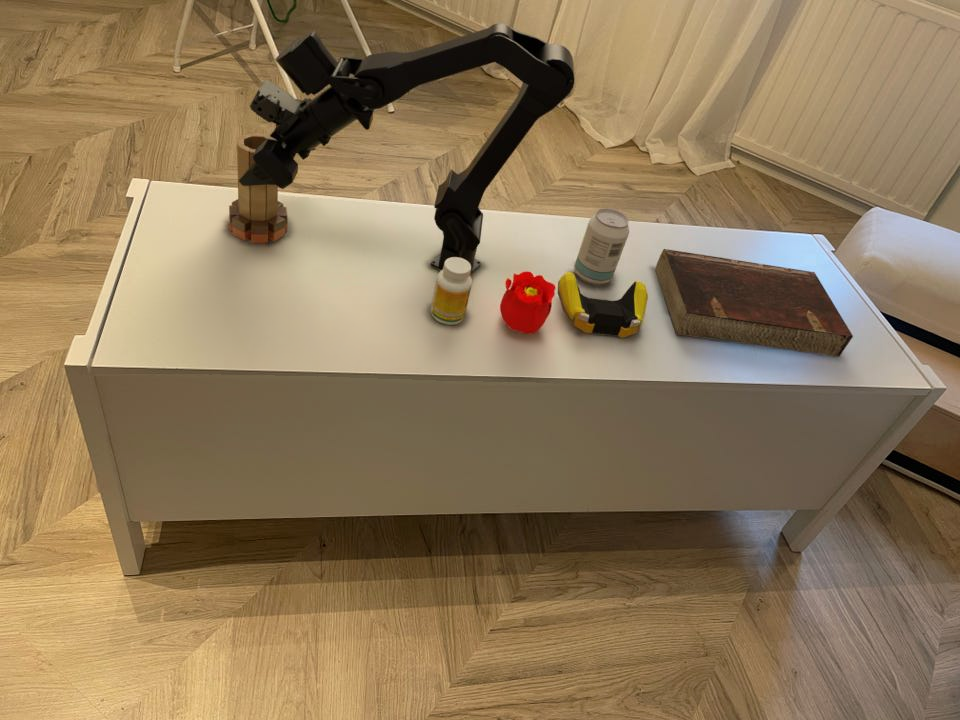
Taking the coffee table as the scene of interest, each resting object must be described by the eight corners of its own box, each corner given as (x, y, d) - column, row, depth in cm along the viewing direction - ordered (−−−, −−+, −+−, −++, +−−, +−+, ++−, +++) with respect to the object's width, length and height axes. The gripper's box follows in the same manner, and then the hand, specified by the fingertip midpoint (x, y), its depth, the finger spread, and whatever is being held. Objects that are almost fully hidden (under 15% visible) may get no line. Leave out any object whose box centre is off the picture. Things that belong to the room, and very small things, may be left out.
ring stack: (256, 205, 132) (256, 189, 130) (298, 227, 129) (298, 211, 127) (217, 226, 126) (216, 209, 124) (260, 249, 123) (260, 233, 121)
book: (802, 291, 145) (814, 269, 142) (838, 358, 131) (853, 336, 128) (654, 268, 141) (664, 246, 138) (675, 335, 127) (686, 312, 124)
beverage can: (609, 268, 138) (631, 211, 130) (612, 291, 133) (634, 233, 125) (572, 261, 138) (591, 202, 130) (572, 283, 133) (592, 224, 125)
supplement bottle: (427, 303, 121) (436, 253, 115) (460, 303, 123) (471, 254, 116) (433, 326, 117) (443, 275, 111) (467, 326, 119) (479, 276, 113)
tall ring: (276, 201, 128) (277, 134, 120) (277, 221, 124) (278, 153, 116) (238, 199, 127) (237, 131, 119) (238, 220, 122) (237, 151, 115)
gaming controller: (551, 293, 129) (558, 332, 122) (560, 267, 126) (567, 305, 118) (637, 304, 132) (649, 343, 124) (648, 278, 128) (660, 317, 121)
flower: (488, 313, 122) (498, 272, 117) (529, 306, 126) (541, 266, 120) (511, 345, 117) (523, 305, 112) (554, 337, 121) (567, 297, 116)
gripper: (301, 47, 117) (230, 101, 123) (268, 97, 103) (189, 156, 109) (349, 107, 123) (278, 156, 129) (324, 162, 109) (246, 214, 115)
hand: (249, 168), depth 120 cm, fingers open, 9 cm apart
